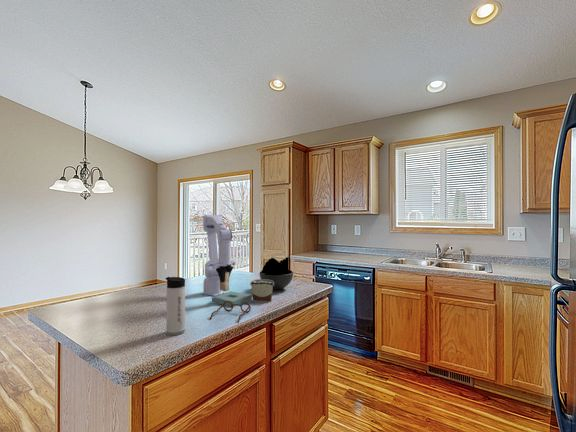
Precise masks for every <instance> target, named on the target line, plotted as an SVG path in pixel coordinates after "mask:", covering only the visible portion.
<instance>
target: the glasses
mask: <svg viewBox="0 0 576 432" xmlns="http://www.w3.org/2000/svg"><path fill="white" fill-rule="evenodd" d="M225 303H230V304H231V306H232V307H231V306H230V307H231V308H230V309H228V308H226V305H225ZM234 305H235V307H236V306H237V307H240V310H241V312H242V313H240V315H239V316H238V319H237V324H239V323H240V321H241V317H242V316H244V315H245V314H246V313H247V314H248V313H249V312H251V310H252V309H251V308H252V307H251V305H250V303H248V302H244V303H242V304H232V303H231V302H230V301H225V302H224V303H223V305H220V306H219V308H218V309H217V310H214V311H212V312H211V315H210V317H209V321H211V320H212V319H213V315H214V314H215V313H218V312H219V311H221V309H222V308H223V309H224V310H225V312H226V311H227V312H232V310H233V309H234V307H233V306H234ZM243 305H247V308H246V309H245V310H244V309H243Z"/></svg>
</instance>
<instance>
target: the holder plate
mask: <svg viewBox="0 0 576 432" xmlns="http://www.w3.org/2000/svg"><path fill="white" fill-rule="evenodd" d="M225 301H230V302H231V303H232V304H240V305H241V304H242V303H244V302H245V303H248V302H249V301H253V297H252V294H249V293H243V292H236V291H230V290H229V291H226V292H225V293H222V294H219V295H216V296H212V297H211V303H213V304H217V305H221V304H222V305H223V303H224V302H225ZM222 305H221V306H222ZM227 306H228V307H231V308H232V306H231V304H230V303H225V307H227ZM234 307H236V306H235V305H234V306H233V308H234Z"/></svg>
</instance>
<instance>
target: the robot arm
mask: <svg viewBox="0 0 576 432" xmlns="http://www.w3.org/2000/svg"><path fill="white" fill-rule="evenodd" d="M202 227H203V228H202V229H203V231H205V232H206V236H207V244H208V245H207V246H208V257H209V258H208V259H209V260H208V261H206V263H205V265H204V276H205V278H204V279H203V292H201V293H202V294H201V295H206V296H212V297H215V296H218V295H221V294H224V293H226V291H222V290H220V282H224V281H225V273H226V272H229V278H230V277H231V273H232V271H233V269H234V266H236V265H237V261H236V260H231V242H232V240H233V231H232V229H230V228H227V226H226V225H225V223H223V216H222V215H221V214H204V215H203V217H202Z"/></svg>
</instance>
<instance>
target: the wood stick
mask: <svg viewBox="0 0 576 432" xmlns="http://www.w3.org/2000/svg"><path fill="white" fill-rule="evenodd" d="M220 290H221V291H222V292H229V291H230V277H229V272H226V273H225V281H224V282H220Z"/></svg>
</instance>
